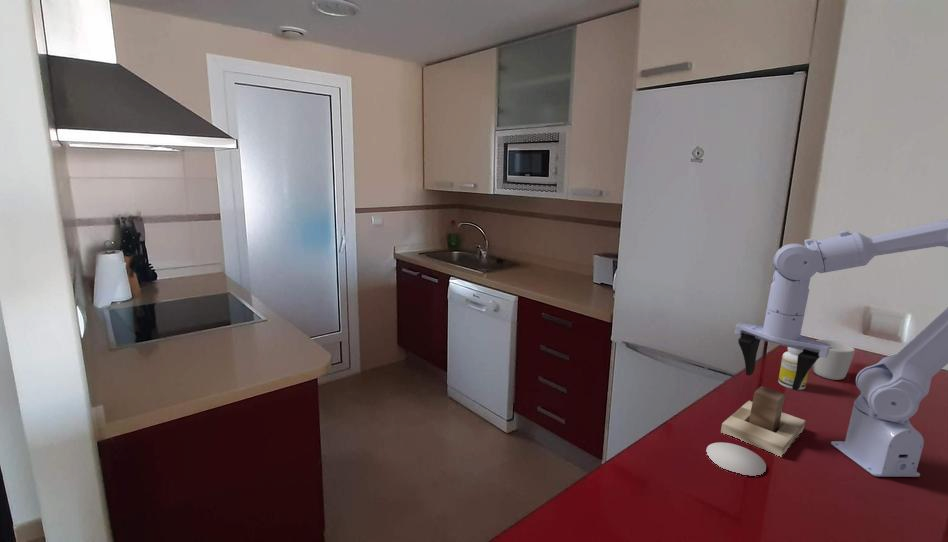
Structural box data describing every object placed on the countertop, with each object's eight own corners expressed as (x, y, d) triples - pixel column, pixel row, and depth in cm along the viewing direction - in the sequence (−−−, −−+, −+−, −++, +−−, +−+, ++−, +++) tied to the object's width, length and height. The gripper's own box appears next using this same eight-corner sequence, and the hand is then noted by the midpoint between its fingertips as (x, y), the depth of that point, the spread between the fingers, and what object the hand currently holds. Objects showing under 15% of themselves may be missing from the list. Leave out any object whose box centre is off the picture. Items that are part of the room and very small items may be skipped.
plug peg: (777, 432, 90) (785, 393, 88) (770, 439, 87) (778, 400, 85) (754, 423, 92) (761, 386, 91) (747, 430, 90) (754, 392, 88)
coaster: (778, 476, 76) (778, 474, 76) (724, 476, 76) (724, 474, 76) (745, 444, 85) (745, 442, 85) (696, 444, 85) (696, 442, 85)
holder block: (803, 429, 91) (805, 420, 90) (781, 457, 81) (783, 447, 81) (747, 409, 98) (748, 400, 97) (720, 432, 89) (722, 423, 88)
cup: (802, 377, 114) (808, 347, 112) (791, 365, 122) (796, 336, 120) (854, 385, 111) (861, 353, 109) (839, 371, 119) (846, 342, 117)
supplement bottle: (796, 380, 112) (804, 342, 110) (810, 391, 107) (818, 351, 105) (773, 379, 113) (780, 340, 111) (785, 389, 108) (793, 349, 105)
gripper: (840, 317, 82) (824, 388, 85) (749, 298, 92) (738, 362, 95) (830, 325, 77) (814, 400, 80) (735, 304, 88) (724, 371, 91)
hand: (772, 380), depth 87 cm, fingers open, 7 cm apart
